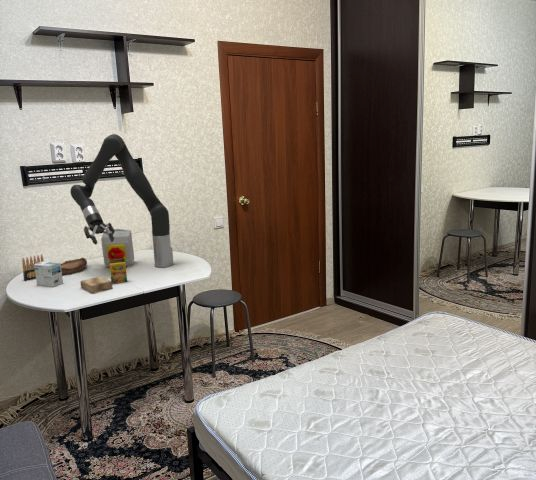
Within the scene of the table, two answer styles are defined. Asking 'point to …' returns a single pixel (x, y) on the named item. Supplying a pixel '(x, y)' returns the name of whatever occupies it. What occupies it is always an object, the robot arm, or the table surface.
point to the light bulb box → (48, 273)
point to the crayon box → (118, 271)
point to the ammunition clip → (29, 271)
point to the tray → (96, 284)
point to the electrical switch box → (118, 247)
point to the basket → (73, 266)
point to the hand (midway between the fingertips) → (104, 242)
